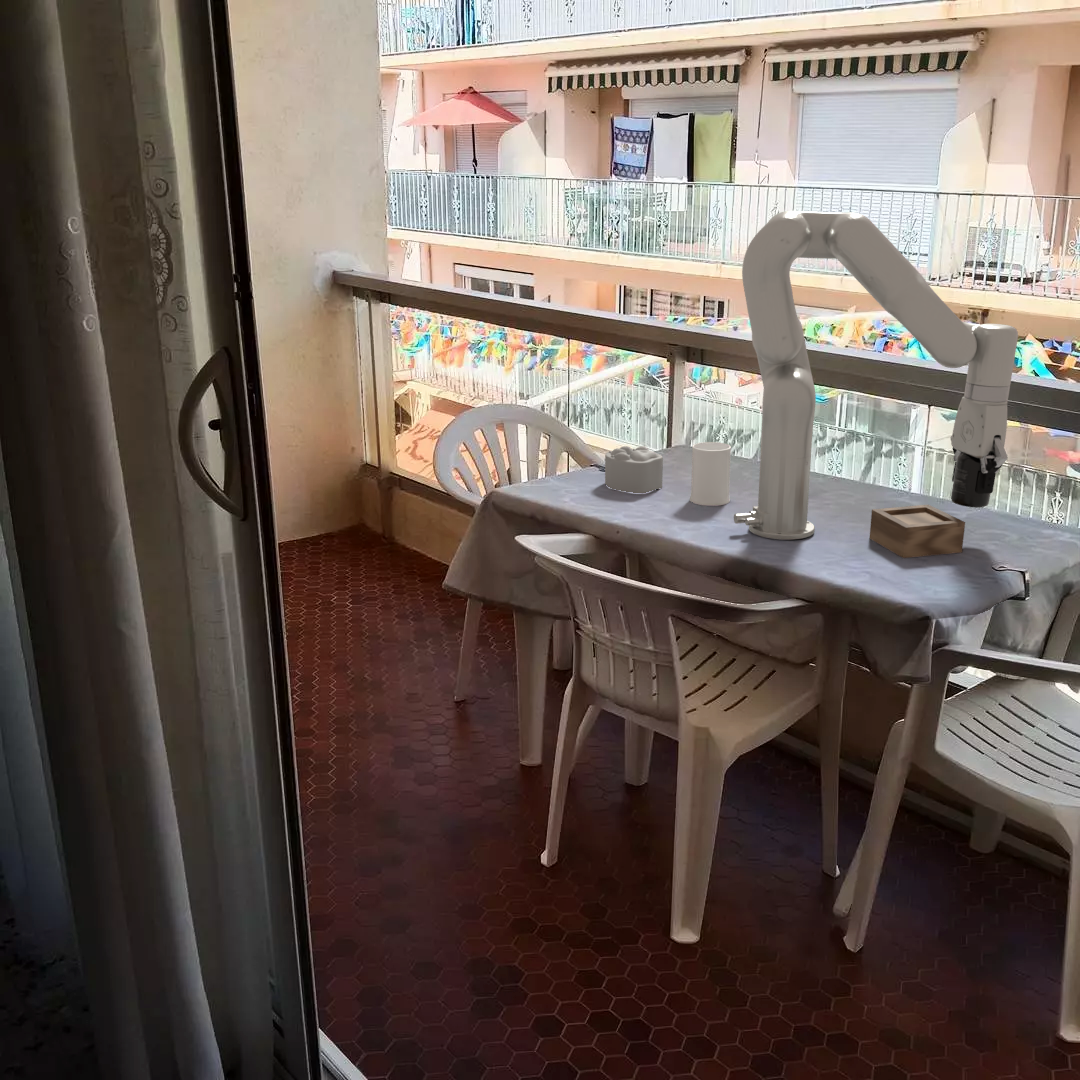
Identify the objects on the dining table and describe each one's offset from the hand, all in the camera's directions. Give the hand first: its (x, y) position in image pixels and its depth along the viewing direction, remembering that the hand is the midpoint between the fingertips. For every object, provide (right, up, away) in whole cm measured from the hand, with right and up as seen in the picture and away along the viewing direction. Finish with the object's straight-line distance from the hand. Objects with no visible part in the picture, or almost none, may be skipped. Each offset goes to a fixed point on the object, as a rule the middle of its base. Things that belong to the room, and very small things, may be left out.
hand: (971, 486), depth 208 cm
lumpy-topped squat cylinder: (-60, +2, +43) cm, 74 cm away
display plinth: (-11, -11, 0) cm, 15 cm away
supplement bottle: (0, -3, +1) cm, 3 cm away
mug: (-43, -1, +32) cm, 54 cm away
